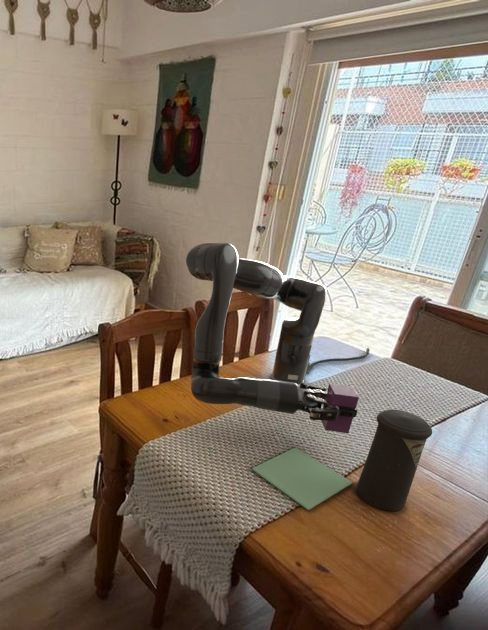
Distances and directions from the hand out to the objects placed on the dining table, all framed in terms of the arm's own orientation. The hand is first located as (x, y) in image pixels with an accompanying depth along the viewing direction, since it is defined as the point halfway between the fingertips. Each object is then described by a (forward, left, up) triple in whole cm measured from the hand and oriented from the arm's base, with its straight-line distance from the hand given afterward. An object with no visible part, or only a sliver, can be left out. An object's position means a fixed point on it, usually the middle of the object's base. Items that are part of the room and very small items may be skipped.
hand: (351, 406), depth 103 cm
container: (+8, +13, -13) cm, 20 cm away
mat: (+17, +1, -13) cm, 21 cm away
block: (+2, -2, -6) cm, 7 cm away
